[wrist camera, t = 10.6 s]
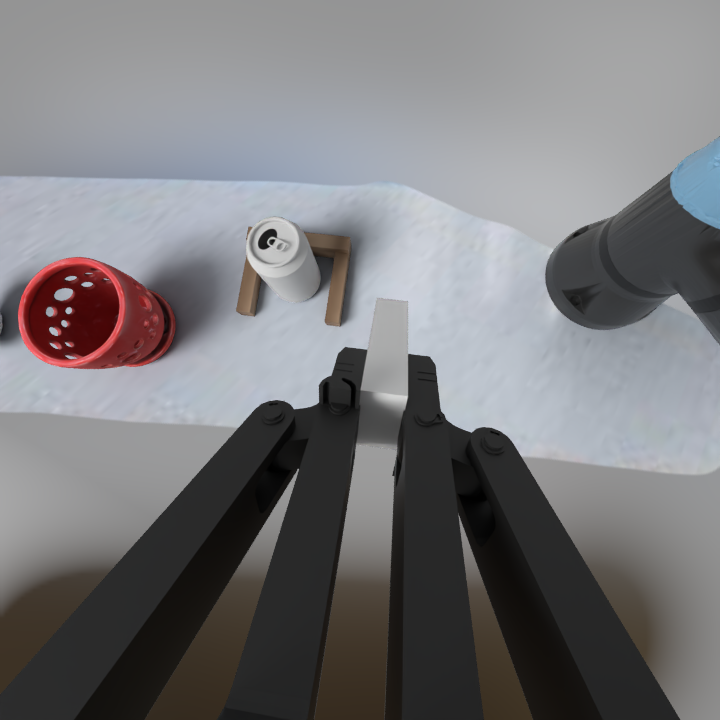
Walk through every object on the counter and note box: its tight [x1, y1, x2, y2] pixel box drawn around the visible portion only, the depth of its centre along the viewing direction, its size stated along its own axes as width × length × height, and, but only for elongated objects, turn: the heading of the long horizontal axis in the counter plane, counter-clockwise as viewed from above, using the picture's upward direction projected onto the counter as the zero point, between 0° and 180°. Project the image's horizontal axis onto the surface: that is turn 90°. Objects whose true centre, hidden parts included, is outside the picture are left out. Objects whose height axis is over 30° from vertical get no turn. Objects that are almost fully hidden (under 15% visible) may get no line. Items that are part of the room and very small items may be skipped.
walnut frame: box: [236, 227, 351, 326], centre depth 46 cm, size 15×12×3 cm
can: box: [246, 217, 321, 303], centre depth 42 cm, size 8×8×12 cm
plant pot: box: [18, 257, 176, 369], centre depth 42 cm, size 13×13×12 cm
